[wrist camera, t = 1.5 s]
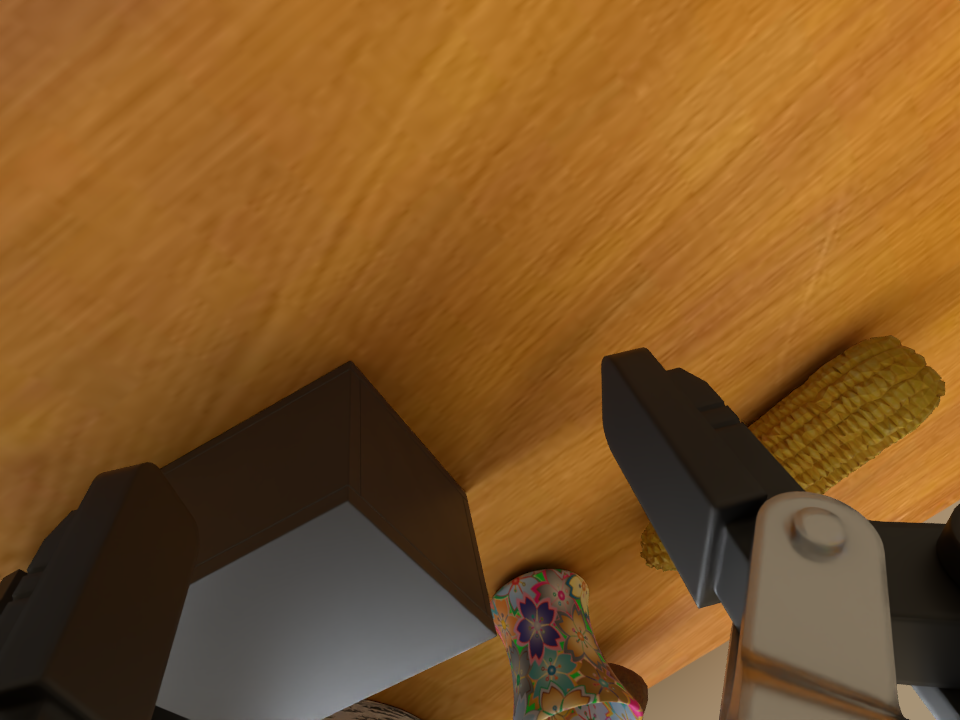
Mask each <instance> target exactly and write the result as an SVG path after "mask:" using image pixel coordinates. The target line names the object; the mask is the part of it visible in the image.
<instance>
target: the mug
mask: <svg viewBox="0 0 960 720" xmlns="http://www.w3.org/2000/svg"><path fill="white" fill-rule="evenodd" d="M588 600H589V589H588V586H587V584H586V582H585V581H584V580H583V578H581V577H580V576H579V575H577V574H575V573H573V572H570V571H567V570H562V569H543V570H537V571H533V572H530V573H526V574H524V575H521V576H519V577H517V578H515V579H513V580H511V581H510V582H508V583H507V584H505V585H504V586H503V587H502V588H500V589H499V590H498V591H497V592H496V594H495V595H494V596H493V598H492V600H491V602H490V606H491V611H492V615H493V621H494V624H495V629H496V631H497V632H498V634H499V636H500V637H501V639H502V641H503V643H504V646H505V648H506V651H507V654H508V657H509V661H510V665H511V671H512V678H513V688H514V713H513V720H643V710H642V708H641V706H640V704H639V703H638V702H637V701H636V700H635V699H634V698H633V697H632V695H631V694H630V693H629V692H628V691H627V690H626V689H625V687H624V686H623V685H622V684H621V682H620V681H619V680H618V678H617V677H616V676H615V674H614V673H613V671H612V670H611V668H610V667H609V665H608V663H607V662H606V660H605V658H604V656H603V654H602V652H601V650H600V648H599V646H598V644H597V642H596V639H595V636H594V633H593V630H592V627H591V623H590V618H589V611H588Z"/></svg>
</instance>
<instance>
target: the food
mask: <svg viewBox="0 0 960 720" xmlns="http://www.w3.org/2000/svg"><path fill="white" fill-rule="evenodd" d="M940 379H942V378H941V377H940V376H939V375H938V373H937V372H936V371H935V370H934V369H932V368H931V367H929V366H926V361H925V359H924V357H923V356H921V355H919V354H916V353H915V350H913V349H910V348H908V347H905V346H902V345H901V342H900V340H899V339H897V338H896V337H894V336H892V335H889V336H884V337H875V338H870V340H867V339H865V340H863V341H861V342H859V343H857V344H855V345H853V346H851V347H850V348H848V349H847V350H846V351H845V352H844V353H842V354H841V355H838V356H837V357H836V358H834V359H833V360H831V361H829V362H827V363H826V364H824V365H823V366H822V367H821V368H819V369H818V370H817V371H816V372H815V373H814V374H812V375H811V376H810V377H809V378H808V380H807V381H805V383H804V384H803V385H801V386H800V387H798V388H797V389H795V390H794V391H792V392H791V393H790V394H789V395H788V396H787V397H785V398H784V399H782V400H781V401H780V402H779V403H777V404H776V405H775V406H774V407H773V408H771V409H770V410H769V411H768V412H767V413H766V414H764V415H763V416H762V417H760V419H759V420H757V421H756V422H754V423H753V424H751V425H750V426H749V427H748V429H749V430H750V431H751V432H752V433H753V434H754V435H755V436H756V438H757V439H758V440H759V441H760V442H761V443H762V444H763V445H764V446H765V448H766V449H767V450H768V451H769V452H770V453H771V454H772V455H773V456H774V457H775V459H776V460H777V461H778V462H779V463H780V464H781V465H782V466H783V467H784V469H785V470H786V471H787V472H788V473H789V474H790V475H791V476H792V477H793V478H794V480H795V481H796V482H797V483H798V484H799V485H800V486H801V487H802V488H803V489H804V490H805V491H806V492H812V493H818V494H821V495H822V494H824V493H825V492H827V491H828V490H829V489H830V488H831V487H833V486H834V485H836V484H837V483H838V482H839V481H841V480H842V479H843V478H845V477H848V475H849V473H851V472H854V471H856V470H857V469H858V468H860V467H861V466H862V465H864V464H865V463H866V462H868V461H869V460H871V459H874V458H875V456H877V455H879V454H880V453H881V452H882V451H883V450H884V449H885V448H887V447H889V446H890V445H892V444H893V443H896V442H897V441H898V440H899V439H902V438H903V437H905V436H906V435H907V434H909V433H911V432H912V431H914V430H915V429H916V428H917V427H918V426H919V425H920V424H921V423H922V422H923V421H924V420H925V419H926V418H928V416H929V415H930V414H931V413H932V412H933V410H934V409H935V408H936V407H938V405H939V402H940V396H944V395H945V382H944V381H942V380H940ZM641 539H642V541H641V546H642V552H641V557H643V558H644V559H646V561H647V563H646V565H647V566H649V567H651V568H653V566H655V568H656V569H657V570H658V569H663V572H664V571H668V570H670V571H672V570H675V571H678V570H677V569H676V567H675V565H674V563H673V562H672V560H671V558H670V556H669V554H668V553H667V551H666V549H665V547H664V545H663V544H662V542H661V540H660V538H659V536H658V535H657V533H656V531H655V529H654V527H653V526H652V524H651V522H649V524H648V525H647V527H646V530H645V531H644V533H642V536H641Z"/></svg>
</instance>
